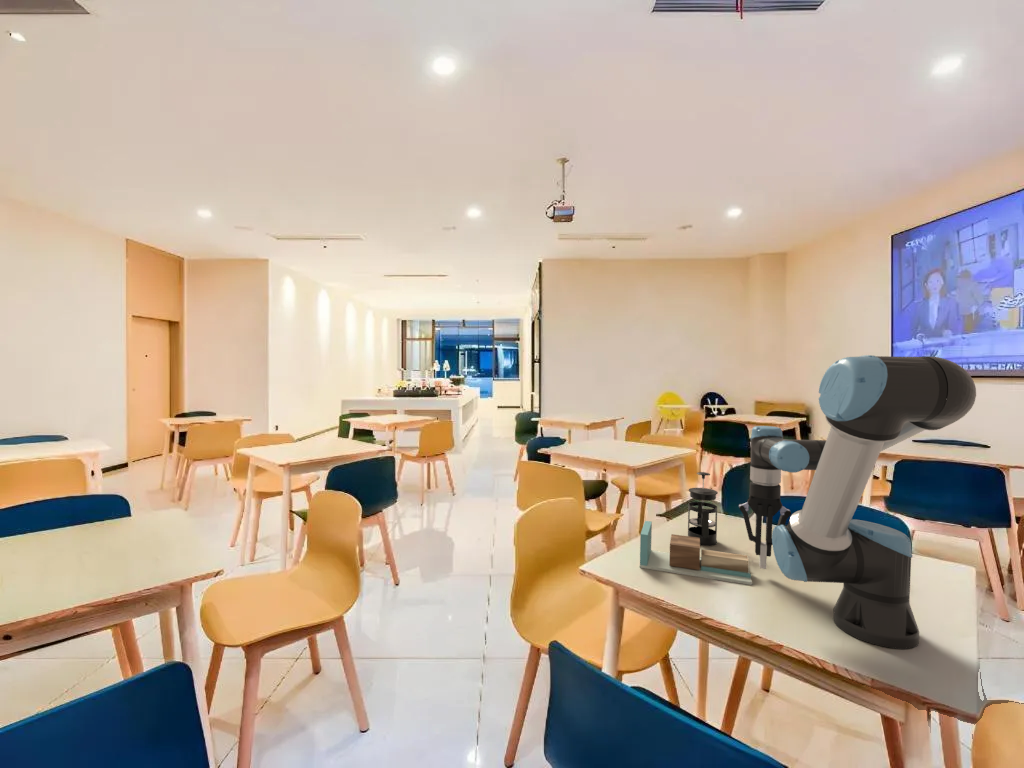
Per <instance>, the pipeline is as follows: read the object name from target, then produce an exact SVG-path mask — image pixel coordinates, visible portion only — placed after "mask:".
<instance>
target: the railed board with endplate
mask: <svg viewBox="0 0 1024 768" xmlns="http://www.w3.org/2000/svg"><path fill="white" fill-rule="evenodd" d="M652 523H653V521H649V520H644V523H643V526H642V529H641V531H640V535H639V536H640V543H639V544H640V545H639V546H640V547H639V568H640V569H641V568H642V569H646V570H653V571H658V572H664V573H665V572H666V573H673V574H679V575H683V576H684V575H685V576H691V577H697V578H704V579H709V580H715V581H716V580H718V581H723V582H729V583H736V584H741V585H742V584H743V585H748V586H750V585H751V586H752V585H753V581H752V574H751V572H750V570H749V568H748V573H746V572H739V571H732V570H725V569H719V568H712V567H705V566H701V556H700V569H699V570H695V569H688V568H682V567H675V566H669V564H670V552H667V551H666V552H665V551H658V550H653V549H652V532H653V531H652Z"/></svg>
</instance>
